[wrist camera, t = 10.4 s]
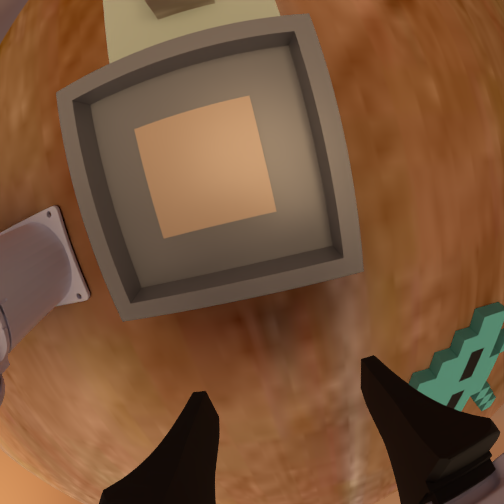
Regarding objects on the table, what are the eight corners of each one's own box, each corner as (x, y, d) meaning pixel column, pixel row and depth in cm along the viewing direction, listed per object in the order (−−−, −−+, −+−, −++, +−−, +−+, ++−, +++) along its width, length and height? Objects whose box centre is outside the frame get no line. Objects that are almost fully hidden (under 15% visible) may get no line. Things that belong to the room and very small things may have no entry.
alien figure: (530, 289, 22) (426, 318, 22) (541, 296, 20) (438, 330, 20) (484, 398, 29) (382, 438, 29) (490, 406, 27) (387, 450, 27)
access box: (137, 299, 20) (122, 321, 17) (80, 98, 15) (56, 92, 12) (347, 254, 20) (363, 271, 17) (299, 33, 14) (309, 13, 11)
